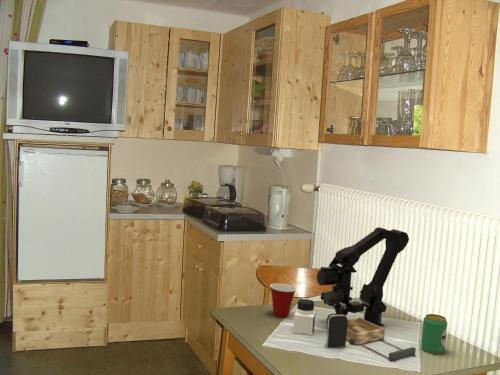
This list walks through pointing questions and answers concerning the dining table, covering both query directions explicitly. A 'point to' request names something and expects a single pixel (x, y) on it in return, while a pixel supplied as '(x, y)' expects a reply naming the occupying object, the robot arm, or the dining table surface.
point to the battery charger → (336, 330)
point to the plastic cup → (282, 298)
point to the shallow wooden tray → (363, 331)
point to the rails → (397, 354)
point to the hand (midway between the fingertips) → (340, 323)
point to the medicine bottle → (304, 317)
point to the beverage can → (434, 334)
